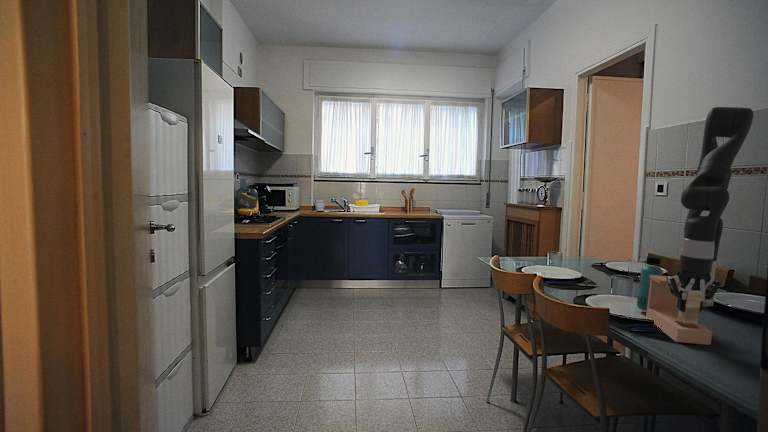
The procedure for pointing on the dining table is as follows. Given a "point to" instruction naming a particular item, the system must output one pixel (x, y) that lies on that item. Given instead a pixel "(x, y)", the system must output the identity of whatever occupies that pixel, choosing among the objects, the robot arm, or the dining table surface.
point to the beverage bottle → (647, 281)
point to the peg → (691, 307)
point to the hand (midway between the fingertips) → (688, 311)
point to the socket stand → (672, 314)
